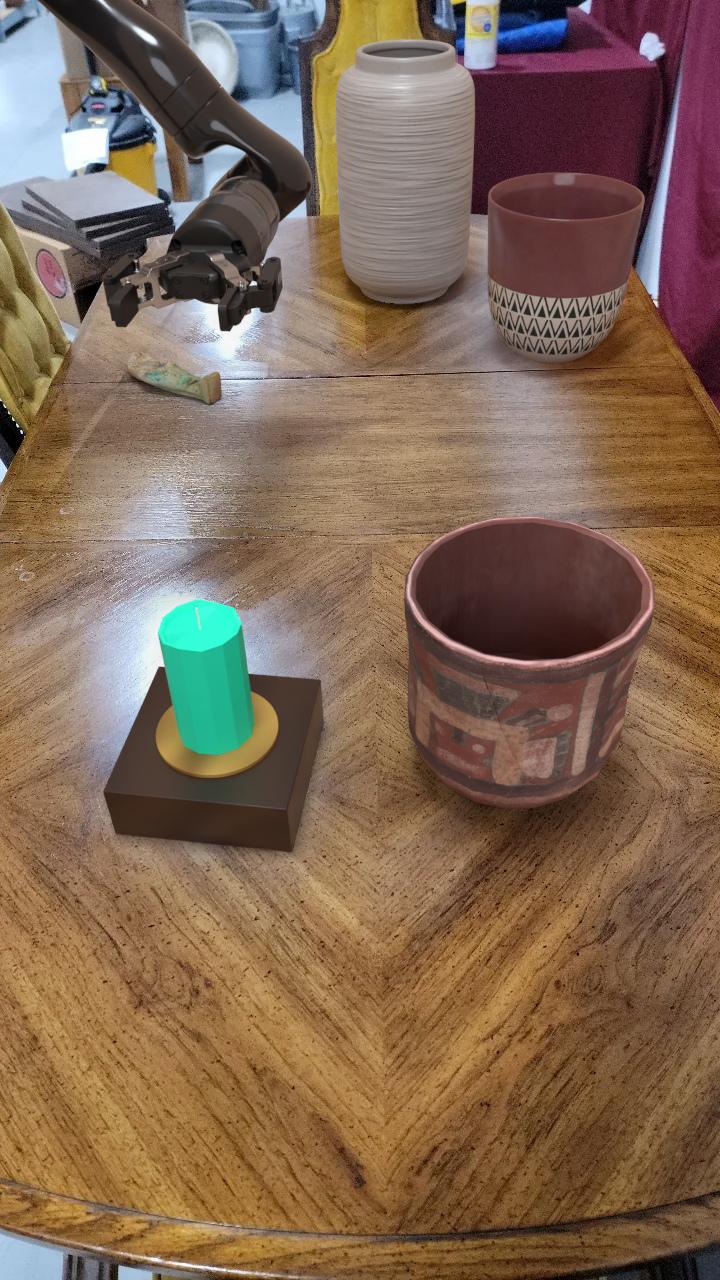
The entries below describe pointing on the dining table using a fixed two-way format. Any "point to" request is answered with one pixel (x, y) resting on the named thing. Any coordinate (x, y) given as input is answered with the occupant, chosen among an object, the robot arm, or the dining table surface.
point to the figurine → (174, 377)
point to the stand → (219, 771)
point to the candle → (207, 676)
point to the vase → (405, 169)
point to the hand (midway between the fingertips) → (170, 317)
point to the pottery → (522, 656)
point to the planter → (559, 261)
